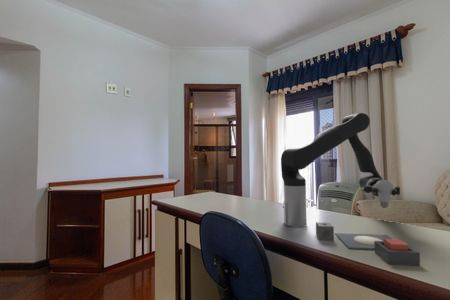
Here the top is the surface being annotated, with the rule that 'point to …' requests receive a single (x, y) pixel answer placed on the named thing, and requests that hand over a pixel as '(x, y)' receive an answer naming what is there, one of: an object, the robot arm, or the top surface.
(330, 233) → the dice cube
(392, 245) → the button
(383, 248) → the button box
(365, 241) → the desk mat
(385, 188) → the lightbulb
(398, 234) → the top surface
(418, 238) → the top surface
